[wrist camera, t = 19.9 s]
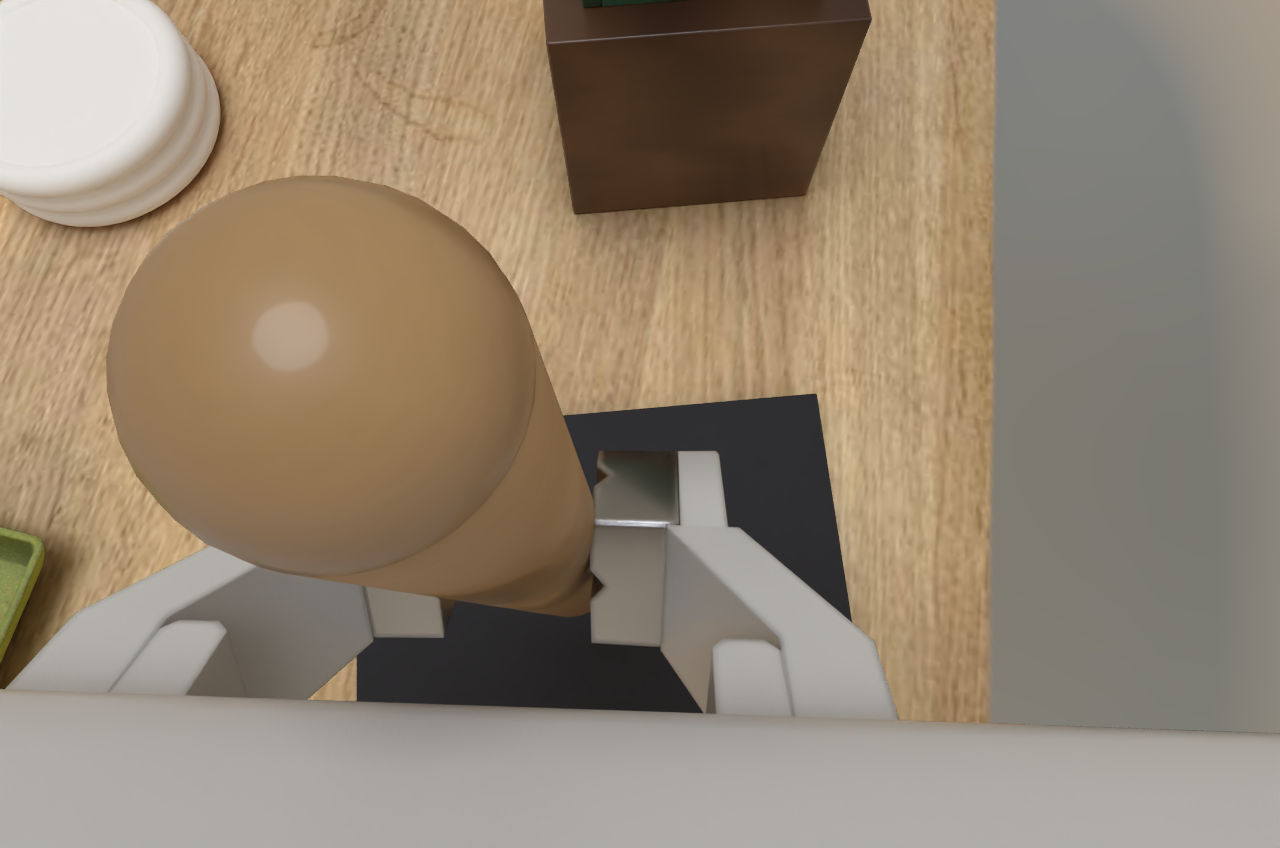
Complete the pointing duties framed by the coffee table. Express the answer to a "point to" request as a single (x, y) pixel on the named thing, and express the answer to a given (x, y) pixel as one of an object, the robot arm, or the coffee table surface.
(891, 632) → the coffee table surface
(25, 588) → the green square dish
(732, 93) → the open box
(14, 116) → the white round tub
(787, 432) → the mat
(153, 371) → the spatula
